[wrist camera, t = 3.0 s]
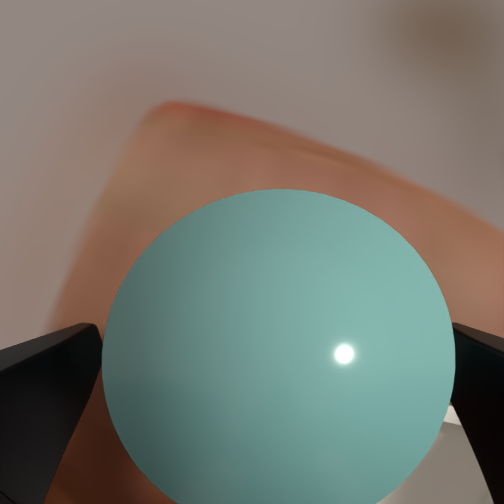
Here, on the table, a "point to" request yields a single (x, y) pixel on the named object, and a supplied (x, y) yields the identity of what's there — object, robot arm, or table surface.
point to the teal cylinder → (278, 354)
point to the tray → (444, 472)
